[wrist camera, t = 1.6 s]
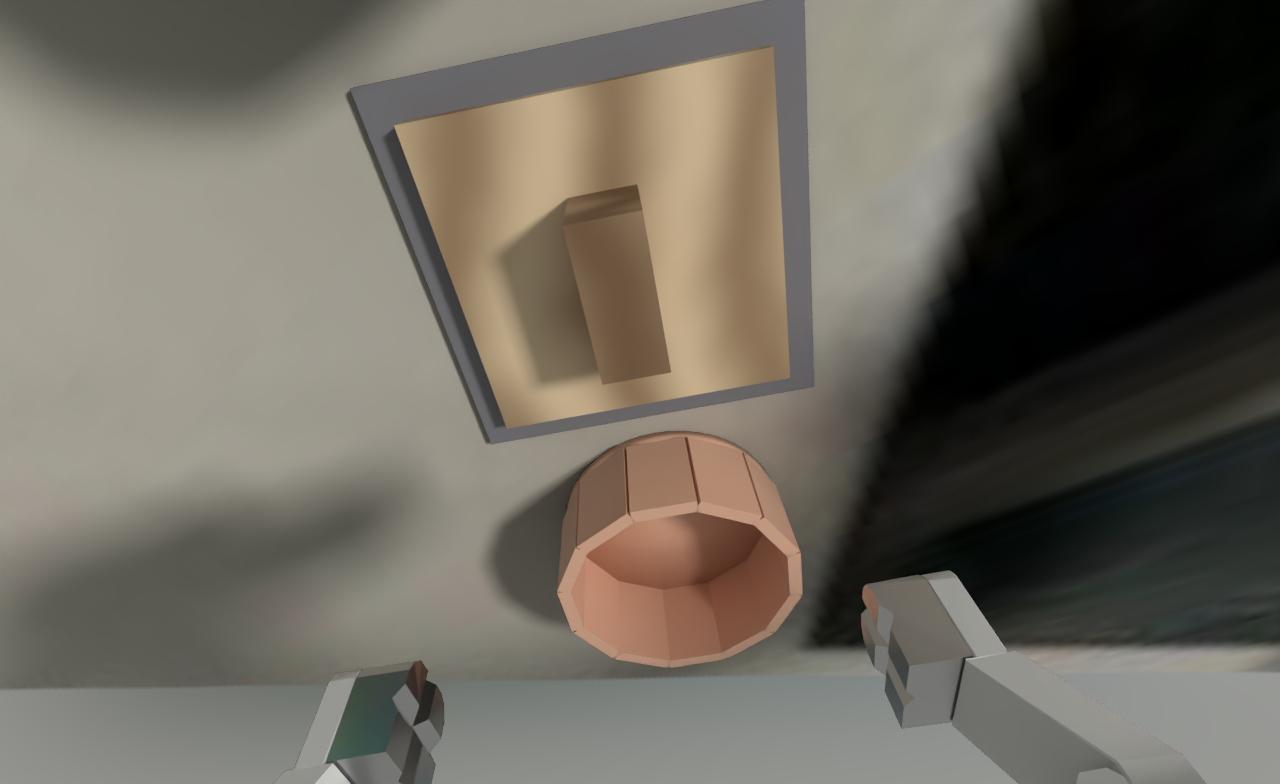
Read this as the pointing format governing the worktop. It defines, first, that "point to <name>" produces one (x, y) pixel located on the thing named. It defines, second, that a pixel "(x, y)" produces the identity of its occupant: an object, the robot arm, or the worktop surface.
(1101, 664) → the worktop surface
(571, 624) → the bowl
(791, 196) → the mat
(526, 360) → the lid
